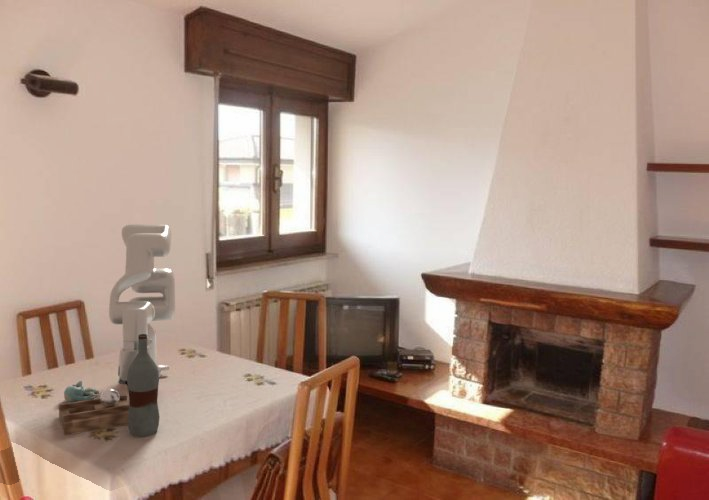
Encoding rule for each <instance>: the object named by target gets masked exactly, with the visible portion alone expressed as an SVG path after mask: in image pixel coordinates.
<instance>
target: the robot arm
mask: <svg viewBox="0 0 709 500" xmlns="http://www.w3.org/2000/svg"><path fill="white" fill-rule="evenodd" d="M121 237H122V240H123V244H124V245H125V248H126V249H125V269H124V270H125V272H124V274H123V275H122V276H121V277H120V278H119V279H118V280H117V281H116V282H115V284H114V286H113V287H112V289H111V292H110V294H109V295H110V296H109V307H108V316H109V321H110V322H111V324H114V325H122V347H121V348H120V349H119V355H118V363H117V364H118V365H117V375H118V379H117V380H118V381H117V383H118V384H119V385H126V386H127V387H128V384H127V376H128V370H129V367H130V365H131V364H132V362H133V361H134V359H135V357H136V356H137V354H138V335H140V334H147V352H148V354H149V355H150V356H151V358H152V359H153V361H154V362H155V364H156V365H157V368H158V372H159V378H161V372H163V371H164V372H165V371H170V366H169V365H167V364H166V365H164V364H161V365H158V363H157V333H156V329H155V328H154V327H153V325H152V324H151V323H153V322H169V321H171V320H173V319H174V317H175V314H176V283H175V282H176V278H175V275H174V272H173V271H172V270H171V269H170V268H161V267H160V268H156V267H155V257H160V258H161V257H168V255H169V254H170V251H171V247H172V246H171V245H172V243H171V242H172V229H171V227H170V226H169V225H167V224H159V223H158V224H156V223H155V224H152V223H150V224H149V223H148V224H147V223H135V224H134V223H132V224H131V223H130V224H126V225H125V226H123V227H122V229H121ZM129 288H131V289H132V291H133V292H134V293H135V294H161V295H162V296H161V295H160V296H138V297H137V296H136V297H132V298H131V299H129V300H128V301H119V300H120V297H121V295H122V294H123V292H125V291H126V290H127V289H129Z"/></svg>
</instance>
